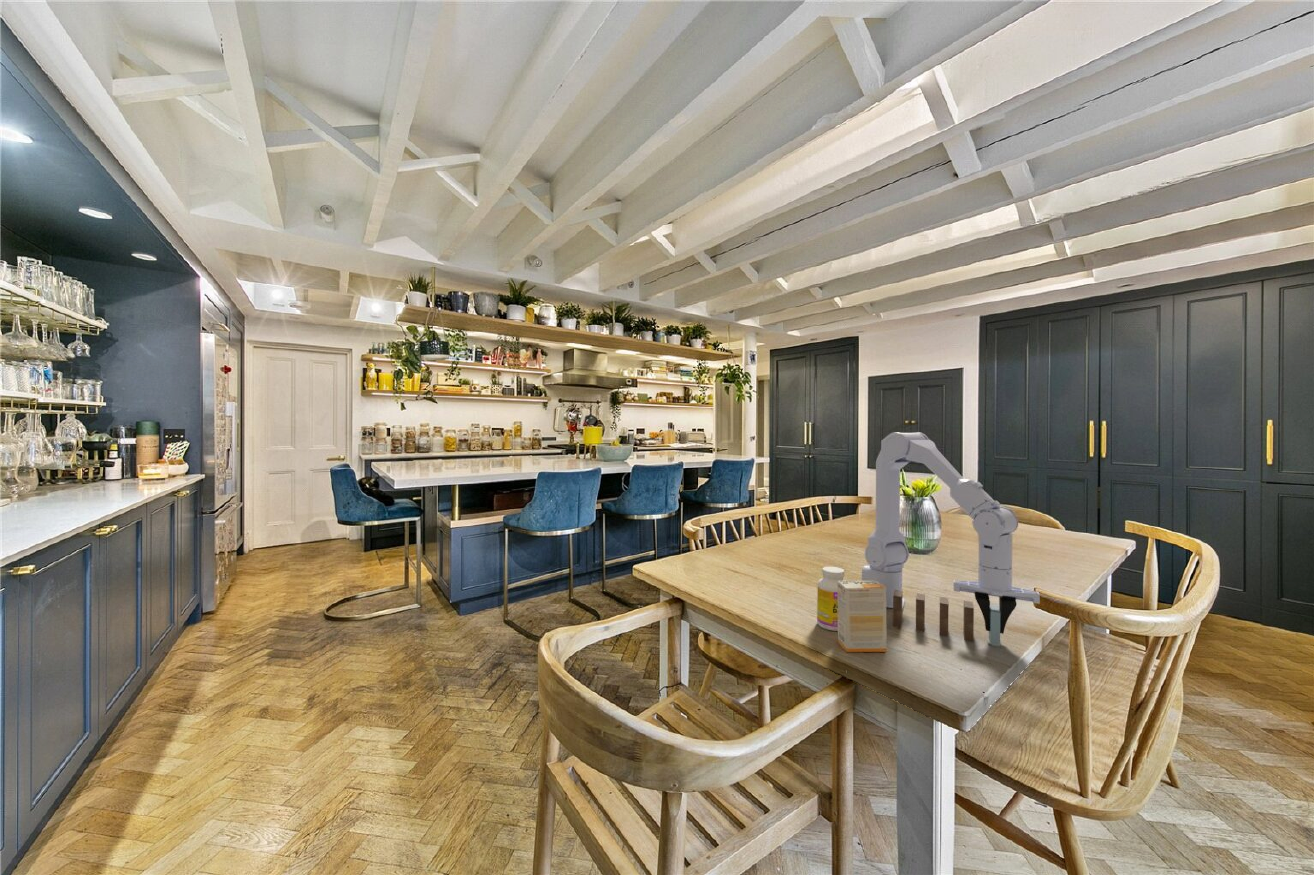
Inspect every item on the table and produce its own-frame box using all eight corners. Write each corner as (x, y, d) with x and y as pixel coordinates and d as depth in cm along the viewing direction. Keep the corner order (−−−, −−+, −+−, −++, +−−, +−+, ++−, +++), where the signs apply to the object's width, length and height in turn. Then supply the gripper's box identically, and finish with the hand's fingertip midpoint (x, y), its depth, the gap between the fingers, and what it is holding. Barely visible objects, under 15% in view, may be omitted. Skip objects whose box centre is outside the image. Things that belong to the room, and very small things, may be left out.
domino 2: (915, 630, 104) (915, 599, 104) (916, 623, 108) (916, 593, 108) (924, 632, 103) (924, 600, 103) (924, 625, 107) (924, 594, 107)
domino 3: (939, 635, 102) (939, 602, 102) (939, 627, 106) (939, 596, 105) (948, 636, 101) (948, 604, 101) (947, 629, 105) (948, 598, 105)
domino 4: (964, 639, 99) (964, 606, 99) (963, 632, 103) (963, 600, 103) (973, 641, 99) (973, 608, 99) (972, 633, 102) (972, 601, 102)
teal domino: (990, 645, 97) (990, 611, 97) (988, 636, 101) (989, 604, 101) (1000, 646, 96) (1000, 612, 96) (997, 638, 100) (998, 605, 100)
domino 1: (892, 626, 106) (893, 595, 106) (894, 619, 110) (894, 589, 110) (900, 627, 106) (901, 596, 105) (902, 620, 109) (902, 590, 109)
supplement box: (875, 642, 99) (876, 579, 98) (887, 652, 94) (887, 587, 93) (836, 642, 99) (836, 579, 98) (845, 652, 94) (845, 587, 93)
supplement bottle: (832, 634, 102) (832, 575, 102) (810, 622, 108) (811, 567, 108) (855, 629, 105) (855, 571, 105) (833, 618, 111) (833, 563, 111)
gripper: (954, 565, 99) (953, 629, 99) (1043, 576, 91) (1042, 646, 91) (953, 557, 105) (953, 618, 105) (1036, 567, 97) (1035, 632, 97)
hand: (994, 630), depth 99 cm, fingers closed on teal domino, 2 cm apart
